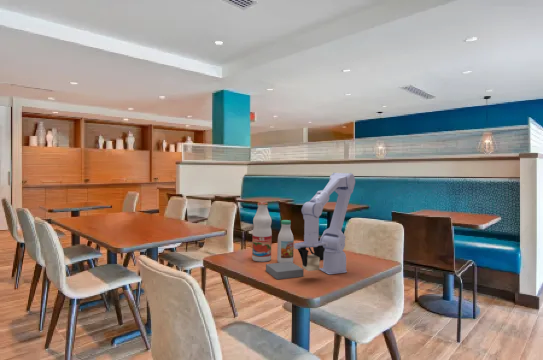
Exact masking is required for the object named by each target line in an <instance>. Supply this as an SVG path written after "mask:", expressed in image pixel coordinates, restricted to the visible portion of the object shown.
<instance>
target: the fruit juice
mask: <svg viewBox="0 0 543 360" xmlns="http://www.w3.org/2000/svg"><path fill="white" fill-rule="evenodd" d="M252 222H253V229H252V239H251V240H252V245H251V247H252V248H251V249H252V250H251V251H252V252H251V257H252V260H253V261H255V262H258V263H259V262H260V263H261V262H269V261H271V259H272V244H273V243H272V242H273V241H272V237H273V235H272V234H273V233H272V227H271V226H272V217H271V216H270V212H269V209H268V202H266V201H261V202H257V209H256V213H255V215H254V217H253V220H252Z"/></svg>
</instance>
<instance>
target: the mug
mask: <svg viewBox="0 0 543 360" xmlns="http://www.w3.org/2000/svg"><path fill="white" fill-rule="evenodd" d="M320 238H321V237H318V241H320ZM312 249H313V251H312ZM308 251H309V252H310V253H311V254H310V255H315V253H314V247H310V248H308ZM323 258H324V252H323V254H322V256H321V259H320V261H321V260H322V261H323Z"/></svg>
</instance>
